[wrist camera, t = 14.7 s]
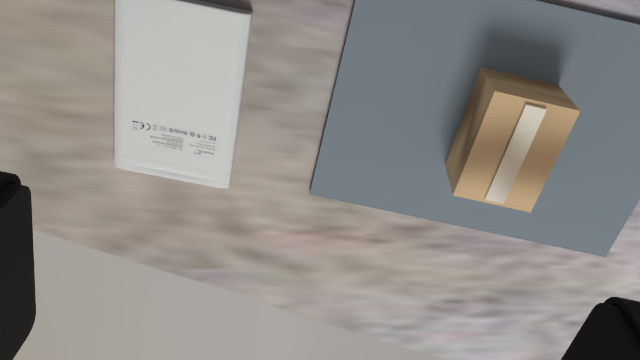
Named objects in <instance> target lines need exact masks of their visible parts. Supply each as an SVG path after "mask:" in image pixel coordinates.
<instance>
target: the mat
mask: <svg viewBox="0 0 640 360" xmlns="http://www.w3.org/2000/svg"><path fill="white" fill-rule="evenodd" d="M481 67H482V68H487V69H491V70H495V71H499V72H504V73H508V74H512V75H516V76H521V77H525V78H529V79H533V80H538V81H542V82H546V83H550V84H555V85H559V86H560V87H561V89H562V90H563V91H564V92H565V93H566V94H567V96H568V97H569V98H570V99H571V100H572V102H573V103H574V104H575V105H576V106H577V107H578V109H579V110H580V113H579V115H578V117H577V119H576V121H575V123H574V125H573V127H572V129H571V131H570V134H569V136H568V138H567V140H566V142H565V144H564V146H563V148H562V150H561V152H560V154H559V156H558V158H557V160H556V162H555V164H554V166H553V168H552V170H551V172H550V174H549V176H548V178H547V180H546V182H545V185H544V187H543V189H542V191H541V193H540V195H539V197H538V199H537V201H536V203H535V205H534V207H533V209H532V211H531V213H530V212H525V211H521V210H516V209H512V208H507V207H503V206H498V205H494V204H489V203H485V202H480V201H476V200H471V199H467V198H462V197H458V196H453V194H452V190H451V186H450V182H449V179H448V175H447V171H446V168H445V162H446V160H447V157H448V155H449V152H450V149H451V147H452V144H453V141H454V139H455V136H456V133H457V131H458V128H459V125H460V123H461V120H462V117H463V115H464V112H465V110H466V107H467V104H468V102H469V99H470V96H471V94H472V91H473V88H474V86H475V83H476V80H477V78H478V75H479V72H480V70H481ZM310 194H311V195H316V196H320V197H325V198H330V199H334V200H339V201H344V202H349V203H353V204H358V205H363V206H367V207H372V208H377V209H382V210H386V211H391V212H396V213H401V214H405V215H410V216H415V217H419V218H424V219H429V220H434V221H438V222H443V223H448V224H452V225H457V226H462V227H467V228H471V229H476V230H481V231H485V232H490V233H495V234H500V235H504V236H509V237H514V238H518V239H523V240H528V241H533V242H537V243H542V244H547V245H551V246H556V247H561V248H566V249H570V250H575V251H580V252H584V253H589V254H594V255H599V256H603V257H606V255H607V253H608V252H609V250H610V248H611V246H612V245H613V243H614V241H615V240H616V238H617V236H618V235H619V233H620V231H621V229H622V228H623V226H624V224H625V223H626V221H627V219H628V218H629V216H630V214H631V212H632V211H633V209H634V207H635V206H636V204H637V202H638V201H639V199H640V24H639V23H634V22H630V21H626V20H621V19H617V18H613V17H609V16H604V15H600V14H596V13H592V12H587V11H583V10H579V9H575V8H570V7H566V6H562V5H558V4H553V3H549V2H545V1H541V0H355V3H354V8H353V12H352V16H351V20H350V25H349V29H348V33H347V37H346V41H345V46H344V50H343V54H342V58H341V63H340V67H339V71H338V75H337V79H336V84H335V88H334V92H333V96H332V101H331V105H330V109H329V113H328V117H327V122H326V126H325V130H324V134H323V139H322V143H321V147H320V151H319V155H318V160H317V164H316V168H315V172H314V176H313V181H312V185H311V189H310Z"/></svg>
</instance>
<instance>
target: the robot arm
mask: <svg viewBox="0 0 640 360" xmlns="http://www.w3.org/2000/svg"><path fill="white" fill-rule="evenodd" d="M35 315H36V303H35V279H34V255H33V231H32V207H31V192H30V189H29V187H27V186H23V185H21V181H20V179H19V177H18V176H17V175H15V174H11V173H6V172H1V171H0V360H13V358H14V357H15V355H16V354H17V352H18V350H19V349H20V348H21V346H22V344H23V343H24V341H25V340H26V338H27V337H28V335H29V333H30V331H31V329H32V327H33V324H34V321H35ZM561 360H640V302H638V301H634V300H629V299H624V298H619V297H611V298H609V299H607V300H606V301H605V302H604V303H599V304H597V305H596V306H595V307H594V308H593V310H592V311H591V313H590V314H589V316H588V317H587V319H586V321H585V322H584V324H583V325H582V327H581V329H580V330H579V332H578V333H577V335H576V337H575V338H574V340H573V341H572V343H571V345H570V346H569V348H568V349H567V351H566V353H565V354H564V356H563V357H562V359H561Z"/></svg>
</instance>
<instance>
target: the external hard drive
mask: <svg viewBox="0 0 640 360" xmlns="http://www.w3.org/2000/svg"><path fill="white" fill-rule="evenodd" d="M252 17H253V11H250V10H245V9H240V8H235V7H230V6H225V5H220V4H216V3H211V2H206V1H201V0H115V118H114V166H115V167H117V168H119V169H123V170H129V171H134V172H139V173H145V174H150V175H155V176H160V177H166V178H171V179H176V180H181V181H186V182H191V183H196V184H201V185H206V186H211V187H216V188H229V186H230V184H231V179H232V172H233V165H234V157H235V149H236V142H237V134H238V127H239V119H240V111H241V104H242V96H243V88H244V80H245V72H246V65H247V57H248V49H249V41H250V33H251V25H252Z"/></svg>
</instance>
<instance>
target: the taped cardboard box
mask: <svg viewBox="0 0 640 360" xmlns="http://www.w3.org/2000/svg"><path fill="white" fill-rule="evenodd" d="M579 113H580V110H579V109H578V107H577V106H576V105H575V104H574V103H573V102H572V100H571V99H570V98H569V97H568V96H567V94H566V93H565V92H564V91H563V90H562V89H561V87H560V86H559V85H555V84H550V83H546V82H542V81H538V80H533V79H529V78H525V77H521V76H516V75H512V74H508V73H504V72H499V71H495V70H491V69H487V68H482V67H481V70H480V72H479V75H478V78H477V80H476V83H475V86H474V88H473V91H472V94H471V96H470V99H469V102H468V104H467V107H466V110H465V112H464V115H463V117H462V120H461V123H460V125H459V128H458V131H457V133H456V136H455V139H454V141H453V144H452V147H451V149H450V152H449V155H448V157H447V160H446V162H445V168H446V171H447V175H448V179H449V182H450V186H451V190H452V194H453V196H458V197H462V198H467V199H471V200H476V201H480V202H485V203H489V204H494V205H498V206H503V207H507V208H512V209H516V210H521V211H525V212H530V213H531V211H532V209H533V207H534V205H535V203H536V201H537V199H538V197H539V195H540V193H541V191H542V189H543V187H544V185H545V182H546V180H547V178H548V176H549V174H550V172H551V170H552V168H553V166H554V164H555V162H556V160H557V158H558V156H559V154H560V152H561V150H562V148H563V146H564V144H565V142H566V140H567V138H568V136H569V134H570V131H571V129H572V127H573V125H574V123H575V121H576V119H577V117H578V115H579Z"/></svg>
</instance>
